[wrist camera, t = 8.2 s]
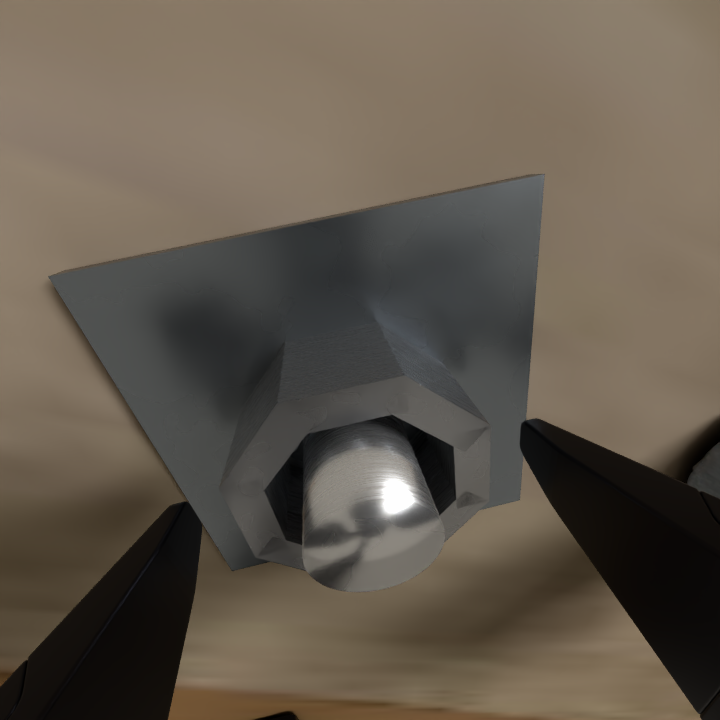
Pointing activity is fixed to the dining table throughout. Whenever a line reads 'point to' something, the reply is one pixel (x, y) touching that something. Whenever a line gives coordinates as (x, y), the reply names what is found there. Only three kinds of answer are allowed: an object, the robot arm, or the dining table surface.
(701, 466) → the moka pot
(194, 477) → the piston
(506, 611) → the dining table surface
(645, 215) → the dining table surface
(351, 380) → the ring
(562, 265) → the dining table surface
